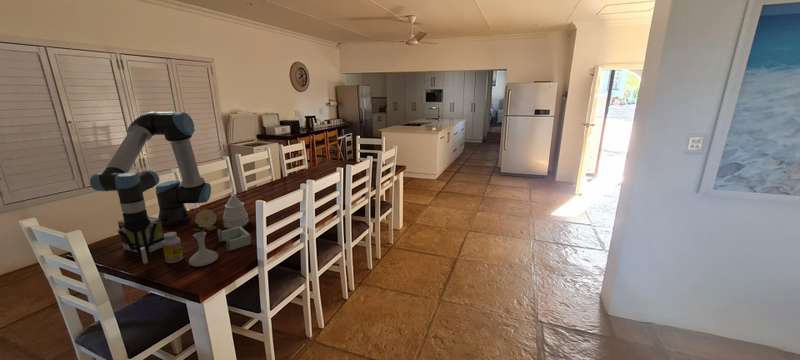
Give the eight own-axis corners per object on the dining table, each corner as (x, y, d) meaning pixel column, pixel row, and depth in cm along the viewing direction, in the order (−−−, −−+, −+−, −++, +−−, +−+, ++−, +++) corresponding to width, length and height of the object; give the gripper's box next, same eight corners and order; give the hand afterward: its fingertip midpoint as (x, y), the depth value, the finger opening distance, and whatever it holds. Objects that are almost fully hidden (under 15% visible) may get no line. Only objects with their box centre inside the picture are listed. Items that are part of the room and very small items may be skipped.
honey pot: (250, 225, 179) (247, 195, 174) (225, 230, 172) (221, 199, 167) (246, 217, 189) (243, 189, 184) (222, 222, 182) (218, 192, 177)
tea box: (166, 245, 153) (161, 218, 149) (144, 255, 144) (138, 226, 140) (145, 240, 158) (139, 213, 154) (123, 249, 149) (116, 221, 145)
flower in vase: (186, 271, 133) (176, 217, 126) (191, 258, 143) (183, 207, 136) (221, 265, 138) (213, 213, 131) (224, 253, 148) (217, 204, 141)
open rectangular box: (219, 241, 159) (217, 229, 158) (241, 234, 167) (240, 223, 165) (228, 251, 150) (226, 239, 148) (251, 243, 157) (250, 232, 156)
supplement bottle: (174, 264, 138) (169, 238, 134) (162, 262, 139) (156, 236, 135) (187, 257, 144) (182, 231, 140) (175, 255, 145) (170, 230, 142)
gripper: (113, 217, 120) (126, 271, 126) (155, 209, 129) (165, 260, 135) (112, 211, 125) (124, 263, 131) (152, 204, 134) (162, 253, 140)
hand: (145, 261), depth 133 cm, fingers closed
